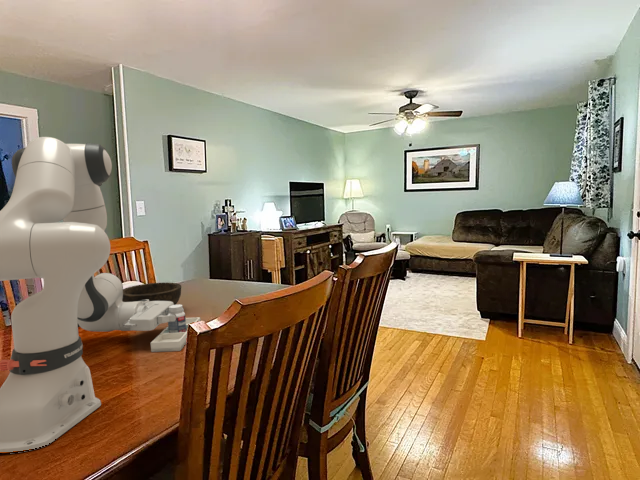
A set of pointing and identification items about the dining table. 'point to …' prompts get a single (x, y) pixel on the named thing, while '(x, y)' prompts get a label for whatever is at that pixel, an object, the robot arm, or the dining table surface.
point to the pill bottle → (180, 322)
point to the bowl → (153, 292)
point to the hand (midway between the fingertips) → (179, 314)
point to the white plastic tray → (171, 339)
